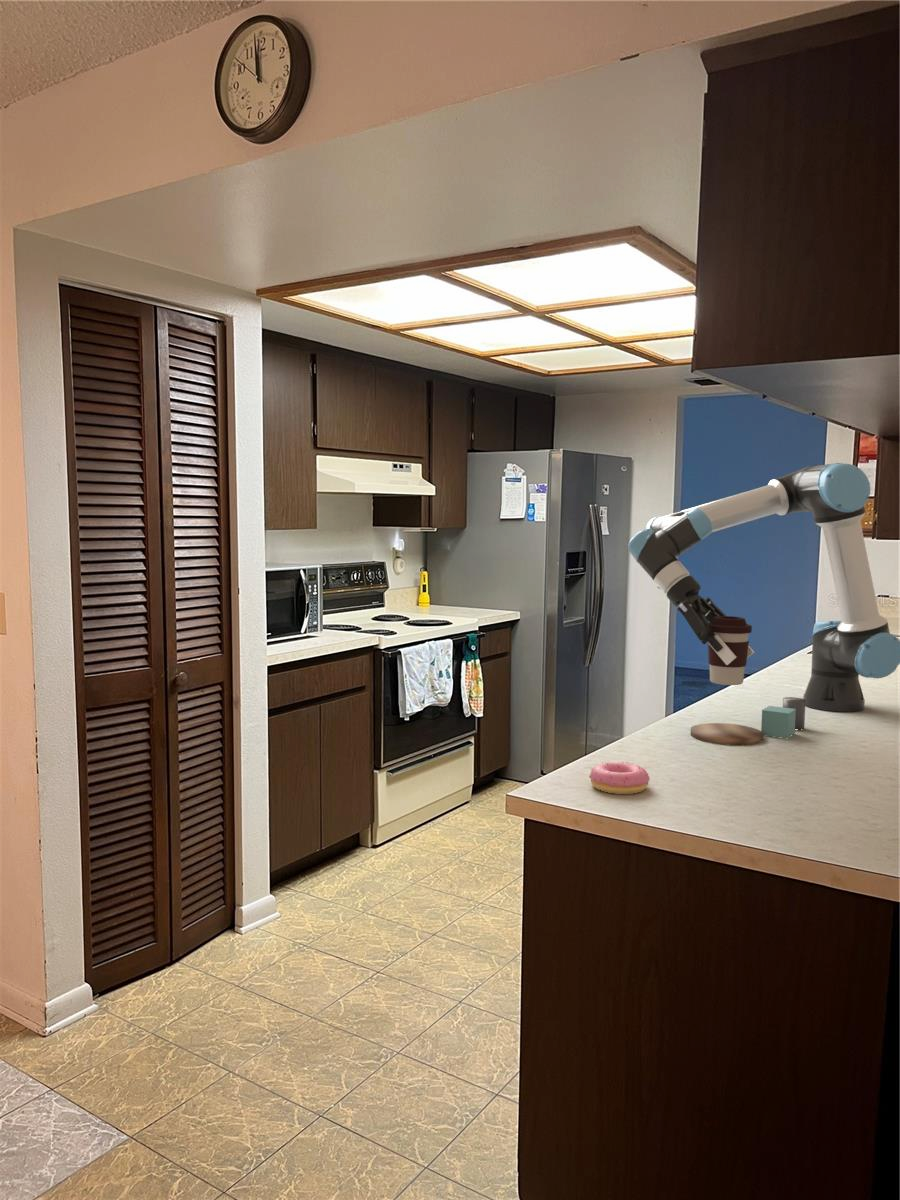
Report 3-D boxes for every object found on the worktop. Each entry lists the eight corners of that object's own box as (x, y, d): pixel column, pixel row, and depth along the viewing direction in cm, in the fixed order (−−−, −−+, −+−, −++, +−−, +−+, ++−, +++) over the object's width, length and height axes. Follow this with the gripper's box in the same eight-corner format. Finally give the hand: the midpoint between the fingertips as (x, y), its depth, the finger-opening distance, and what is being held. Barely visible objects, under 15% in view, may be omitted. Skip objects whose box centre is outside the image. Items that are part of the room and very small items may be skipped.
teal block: (768, 730, 214) (769, 705, 213) (794, 734, 211) (795, 708, 210) (761, 735, 209) (762, 710, 208) (787, 739, 206) (788, 713, 205)
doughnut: (661, 788, 167) (661, 766, 167) (625, 801, 160) (625, 778, 160) (613, 776, 175) (613, 755, 175) (577, 787, 168) (577, 765, 168)
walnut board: (739, 726, 217) (739, 721, 217) (777, 743, 202) (777, 737, 202) (678, 729, 214) (678, 724, 214) (712, 746, 198) (712, 741, 198)
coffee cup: (699, 684, 204) (702, 618, 203) (708, 677, 213) (711, 614, 212) (745, 688, 200) (748, 620, 199) (752, 681, 209) (755, 616, 207)
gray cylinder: (796, 725, 219) (797, 696, 219) (808, 729, 215) (809, 700, 214) (777, 726, 218) (778, 697, 218) (789, 730, 214) (791, 701, 213)
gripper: (687, 592, 223) (747, 663, 215) (645, 598, 206) (708, 675, 197) (709, 572, 219) (771, 643, 211) (667, 576, 202) (733, 653, 194)
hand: (740, 658), depth 204 cm, fingers closed on coffee cup, 10 cm apart
